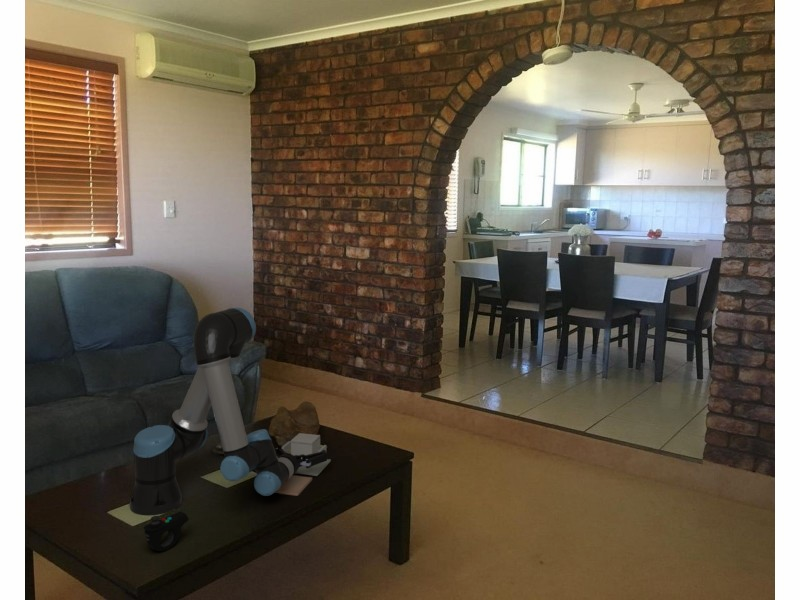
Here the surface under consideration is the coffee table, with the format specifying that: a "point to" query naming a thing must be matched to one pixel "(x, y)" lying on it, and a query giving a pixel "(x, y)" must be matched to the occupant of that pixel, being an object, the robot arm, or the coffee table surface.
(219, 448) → the log
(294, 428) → the rough brown rock
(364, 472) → the coffee table surface
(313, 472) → the mat
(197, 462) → the coffee table surface
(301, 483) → the thin square tile
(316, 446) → the white box
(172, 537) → the controller
